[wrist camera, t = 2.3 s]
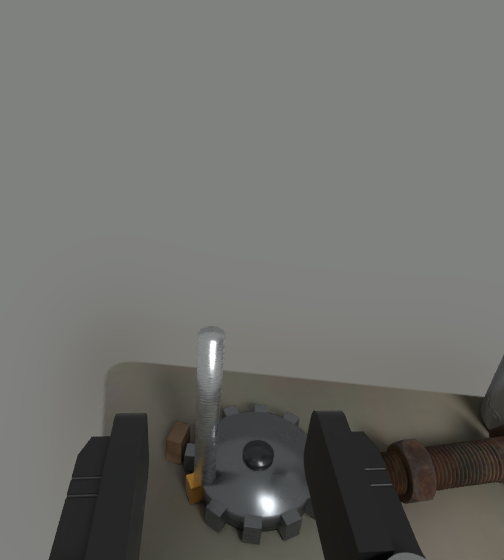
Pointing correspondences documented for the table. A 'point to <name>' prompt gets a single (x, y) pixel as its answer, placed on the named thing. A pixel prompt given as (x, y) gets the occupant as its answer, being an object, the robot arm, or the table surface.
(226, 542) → the table surface
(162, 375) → the table surface
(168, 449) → the brown block
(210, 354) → the sprocket
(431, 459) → the bolt
